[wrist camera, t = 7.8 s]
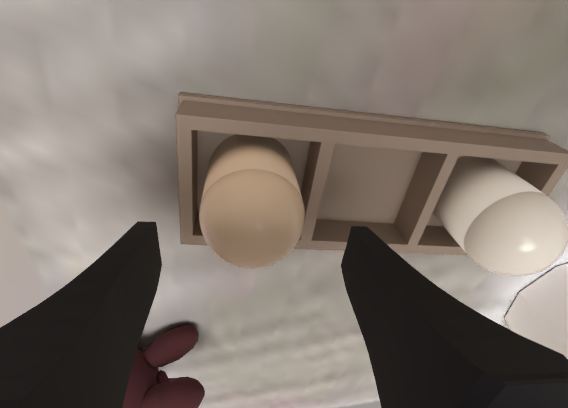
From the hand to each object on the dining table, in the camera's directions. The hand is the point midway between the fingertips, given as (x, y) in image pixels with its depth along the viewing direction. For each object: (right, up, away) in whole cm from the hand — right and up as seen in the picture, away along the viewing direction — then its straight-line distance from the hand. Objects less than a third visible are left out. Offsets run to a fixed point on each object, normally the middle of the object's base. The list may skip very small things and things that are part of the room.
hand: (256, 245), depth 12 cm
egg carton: (+5, +3, +6) cm, 9 cm away
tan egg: (-1, +3, +5) cm, 6 cm away
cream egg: (+12, +2, +7) cm, 14 cm away
